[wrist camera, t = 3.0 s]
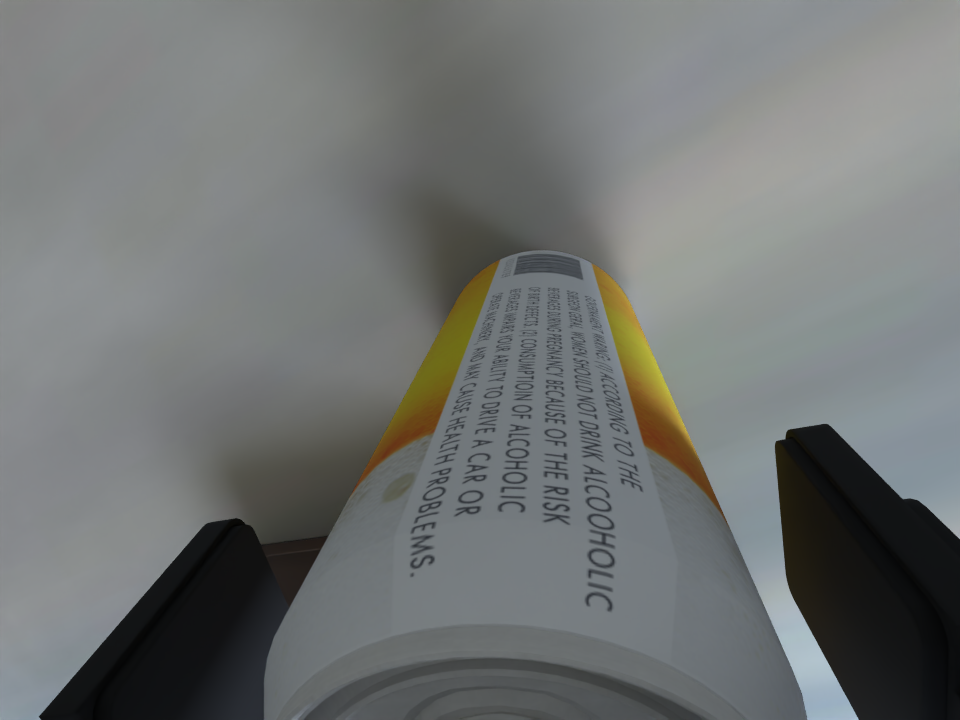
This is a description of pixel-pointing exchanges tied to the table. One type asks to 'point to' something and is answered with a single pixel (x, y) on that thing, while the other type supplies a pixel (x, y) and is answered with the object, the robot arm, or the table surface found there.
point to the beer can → (532, 536)
